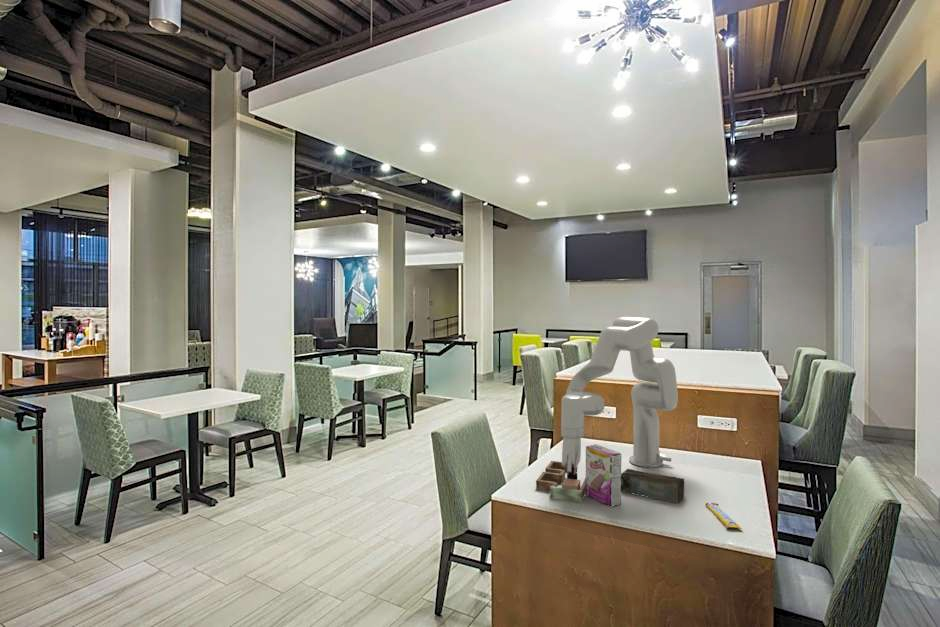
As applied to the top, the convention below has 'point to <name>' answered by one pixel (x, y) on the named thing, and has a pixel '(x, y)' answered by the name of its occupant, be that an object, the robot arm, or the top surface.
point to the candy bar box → (603, 474)
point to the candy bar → (722, 516)
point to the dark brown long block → (653, 485)
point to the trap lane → (553, 478)
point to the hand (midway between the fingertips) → (572, 484)
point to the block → (571, 484)
